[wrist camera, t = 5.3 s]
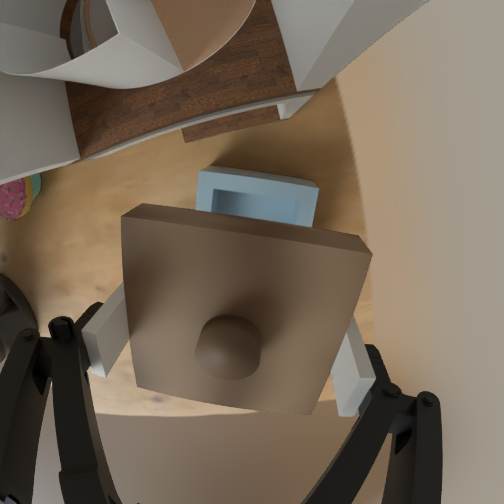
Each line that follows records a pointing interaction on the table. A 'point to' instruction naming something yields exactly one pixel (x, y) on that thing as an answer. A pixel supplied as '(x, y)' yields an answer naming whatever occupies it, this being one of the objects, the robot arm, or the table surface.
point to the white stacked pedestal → (165, 69)
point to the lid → (237, 305)
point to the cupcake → (18, 196)
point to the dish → (257, 195)
